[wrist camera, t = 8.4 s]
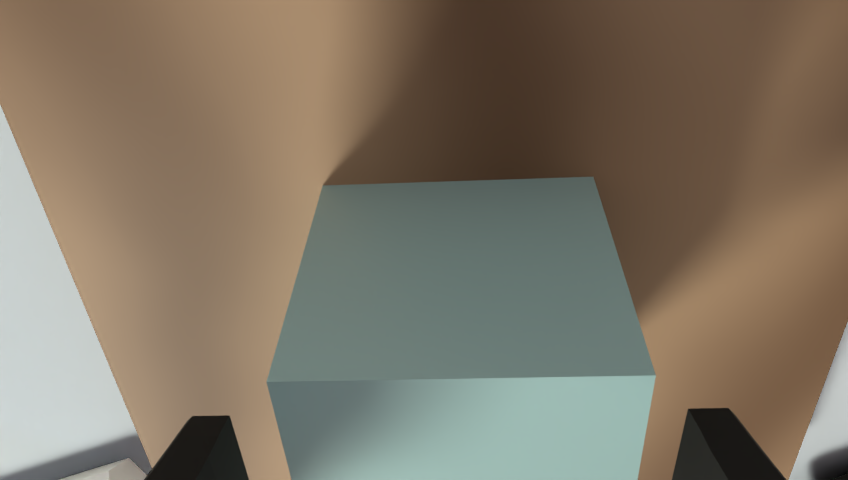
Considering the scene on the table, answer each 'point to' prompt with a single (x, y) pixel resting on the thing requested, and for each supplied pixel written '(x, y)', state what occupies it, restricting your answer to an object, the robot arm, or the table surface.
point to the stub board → (441, 176)
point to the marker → (111, 472)
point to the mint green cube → (461, 337)
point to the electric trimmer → (841, 477)
